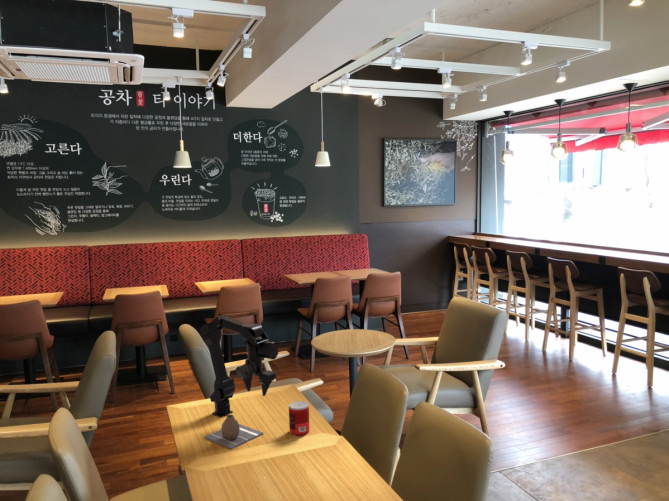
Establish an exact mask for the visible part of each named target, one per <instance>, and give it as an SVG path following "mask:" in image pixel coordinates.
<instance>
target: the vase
mask: <svg viewBox="0 0 669 501" xmlns="http://www.w3.org/2000/svg"><path fill="white" fill-rule="evenodd" d="M239 424H240V423H239V421H238V420H237V419H236V418H235V416H234V414H228V415H226V418H225V419H224V420H223V422H222V424H221V427H220V428H221V433H222V436H223V437H224V438H225V439H226V440H234V439H236V438H237V437H238V435H239V432H240V426H239Z"/></svg>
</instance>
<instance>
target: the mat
mask: <svg viewBox="0 0 669 501" xmlns="http://www.w3.org/2000/svg"><path fill="white" fill-rule="evenodd" d="M239 426H240V432H239V435H238V437H237V438H236V439H234V440H226V439H225V438H224V437H223V436H222V433H221V429H219V430H216V431H214V432H211V433H209V434H207V435H205V436H203V438H204V439H205V440H208V441H210V442H212V443H215V444H217V445H219V446H222V447H224V448H227V449H230V450H233V449H235V448H237V447H239V446H241V445H243V444H247V443H248V442H250V441H251V440H254V439H257V438H259V437H260V436H262V435H264V432H262V431H259V430H257V429H254V428H251V427H249V426H246V425H243V424H241V423H239Z"/></svg>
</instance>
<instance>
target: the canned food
mask: <svg viewBox="0 0 669 501" xmlns="http://www.w3.org/2000/svg"><path fill="white" fill-rule="evenodd" d="M288 422H289V426H288V427H289V433H290V435H293V436H295V437H301V436H305V435H307V434H308V433H309V432H310V406H309V402H307V401H303V400H300V401H299V400H298V401H294V402H290V404H289V405H288Z"/></svg>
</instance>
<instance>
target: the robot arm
mask: <svg viewBox="0 0 669 501" xmlns="http://www.w3.org/2000/svg"><path fill="white" fill-rule="evenodd" d="M223 329H227V330H229V331H232V332H235V333H238V334H240V335H241V337H242V338H243V339H245V341H244V342H243V345H245V346H247V347H246V348H247V358H246V359H245V362H244V363H243V364H242V365H239V366H237V367H236V368H235V375H237V377H238V378H240V379H242V381H243V384H244V385H245V389H246V390H247V392H250V391H251V390H252V389H251V387H252V381H253V375H254V376H256V377H257V376H258V379H259V381H258V382H259V383H260V384H261V393H262V394H261V395H262V396H263V397H265V396H266V395H267V392H268V390H269V389H270V385H271V383H272V381H274V380H275V379H277V373H276V372H275V371H272V370H269V369H268V370H266V371H265V368H266V367H263V362H264V361H265V359H266V360H267V359H268V360H275V359H276V358H277V357H278V355H279V348H278V346H277V345H276V344H275V341H270V338H269V337H268V335H267V334H266V332H265V330H264V328H263V326H262V325H261V324H259V323H245V322H243V321H239V320H238V319H234V318H231V317H229V316H228V315H226V314H223V315H219V316H216V317H215V318H214V319H213V320H211V321H209V322H208V323H207V324H204V325H202V326H201V328H200V331H199V332H200V336H201V338H202V340H203V342H204V343H205V344H206V345H207V347H208V350H209V355H210V360H211V364H212V367H213V368H212V369H213V372H214V378H215V380H214V382H213V383H214V384H213V389H214V390H213V393H211V394H210V396H209V400H210V402H211V403H214V411H213V412H211V414H212V415H214V416H216V417H217V416H218V417H220V418H223V417H225V416H228V415H231V414H232V413H233V410H231V404H230V399H231V398H232V399H233V397H234V393H235V391H236V384H235V380H234V378H233V377H230V376H229V375H228V372H227V368H226V363H225V360H224V356H223V352H222V351H223V350H222V347H221V344H220V343H221V338H222V330H223Z"/></svg>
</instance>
